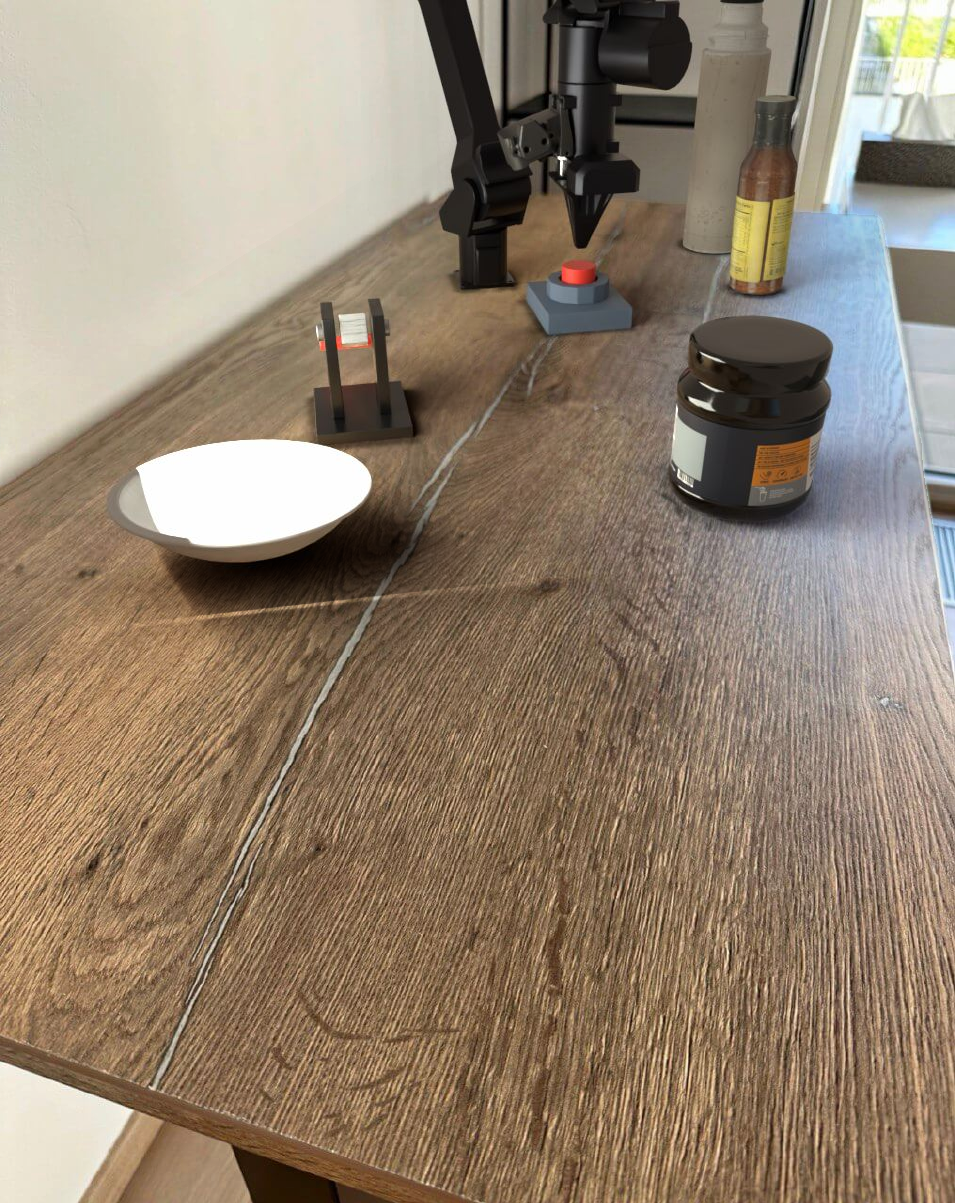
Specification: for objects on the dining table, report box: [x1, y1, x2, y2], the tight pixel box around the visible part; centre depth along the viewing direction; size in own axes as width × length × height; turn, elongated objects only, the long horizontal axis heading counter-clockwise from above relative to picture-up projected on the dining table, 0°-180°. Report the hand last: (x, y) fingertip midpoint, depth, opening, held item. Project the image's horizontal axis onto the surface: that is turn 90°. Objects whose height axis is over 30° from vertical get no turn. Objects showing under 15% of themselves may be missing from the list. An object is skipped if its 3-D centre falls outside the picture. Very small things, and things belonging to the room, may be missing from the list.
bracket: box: [313, 297, 414, 446], centre depth 81 cm, size 10×8×10 cm
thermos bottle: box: [682, 0, 772, 255], centre depth 117 cm, size 8×8×28 cm
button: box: [561, 259, 597, 284], centre depth 102 cm, size 4×4×2 cm
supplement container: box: [667, 315, 834, 523], centre depth 69 cm, size 10×10×12 cm
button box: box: [526, 269, 634, 336], centre depth 104 cm, size 11×9×4 cm
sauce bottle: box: [728, 94, 798, 296], centre depth 105 cm, size 7×6×20 cm
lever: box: [319, 312, 372, 352], centre depth 84 cm, size 13×6×2 cm, turn 9°
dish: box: [105, 439, 373, 563], centre depth 65 cm, size 18×14×5 cm
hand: (580, 248), depth 101 cm, fingers closed
